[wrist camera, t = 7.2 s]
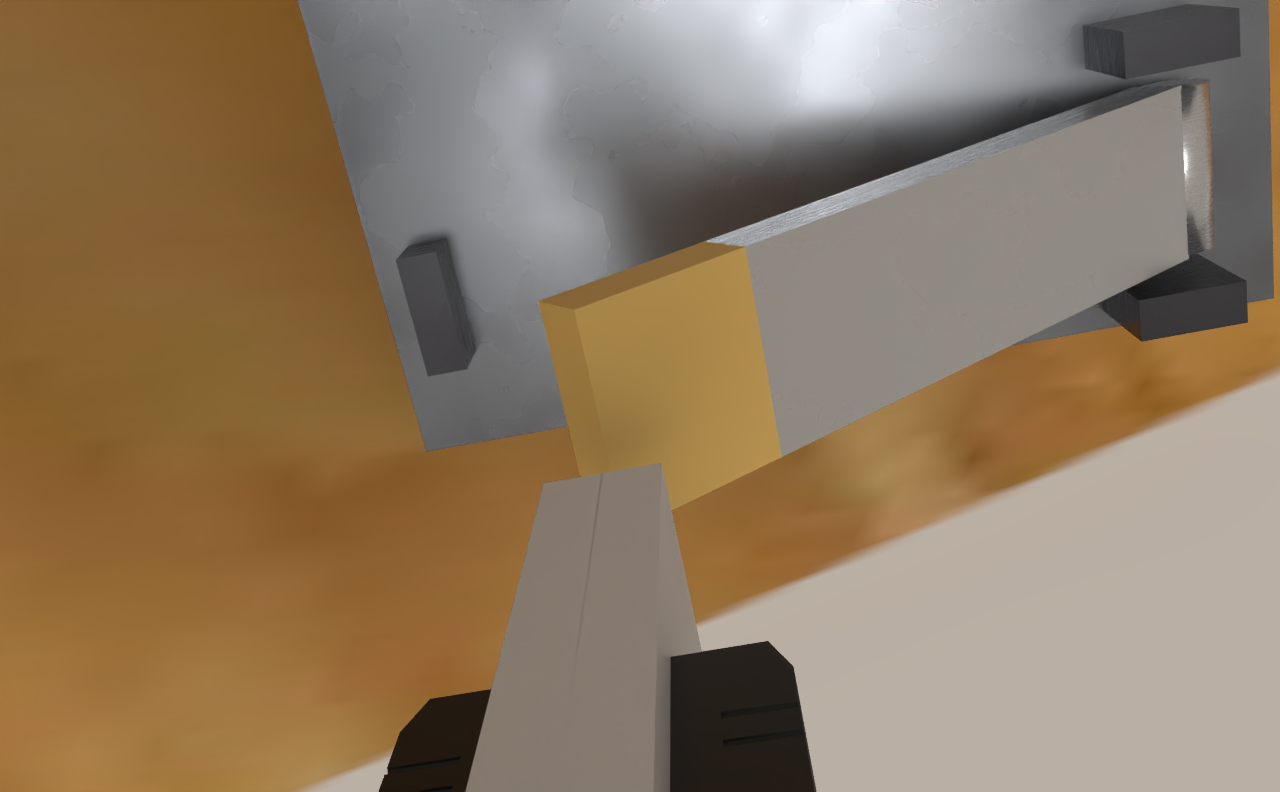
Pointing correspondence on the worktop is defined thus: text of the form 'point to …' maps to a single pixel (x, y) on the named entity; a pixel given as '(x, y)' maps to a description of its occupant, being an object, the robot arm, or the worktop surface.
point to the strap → (877, 289)
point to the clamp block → (724, 148)
